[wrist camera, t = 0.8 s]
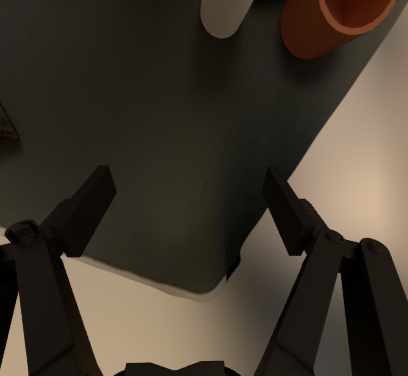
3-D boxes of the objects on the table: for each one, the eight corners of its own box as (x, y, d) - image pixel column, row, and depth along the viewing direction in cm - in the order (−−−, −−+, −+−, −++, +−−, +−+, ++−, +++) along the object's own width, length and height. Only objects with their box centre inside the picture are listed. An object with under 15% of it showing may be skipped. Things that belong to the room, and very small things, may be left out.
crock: (280, -19, 32) (322, -82, 22) (346, -22, 33) (413, -84, 23) (279, 61, 35) (314, 37, 26) (338, 57, 36) (394, 31, 27)
